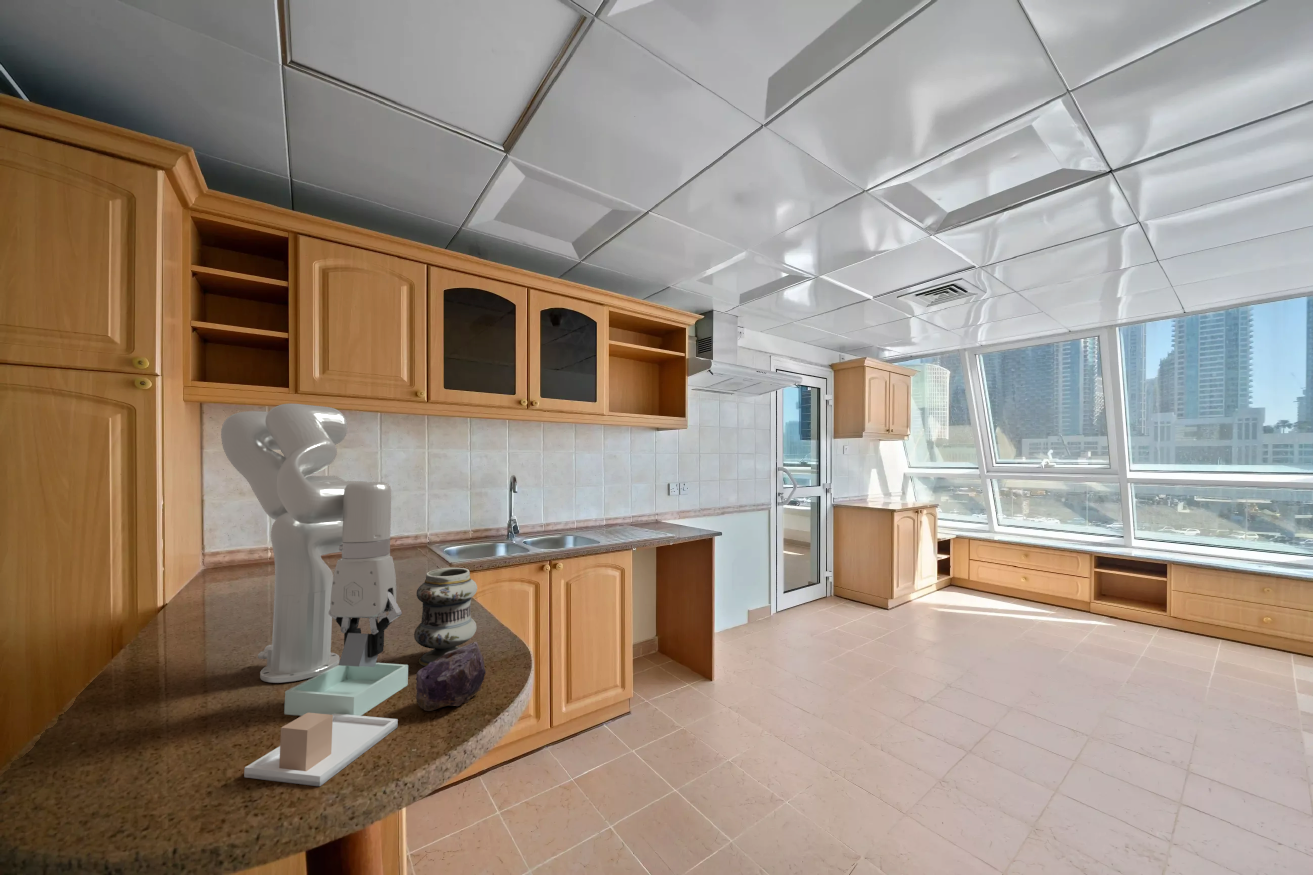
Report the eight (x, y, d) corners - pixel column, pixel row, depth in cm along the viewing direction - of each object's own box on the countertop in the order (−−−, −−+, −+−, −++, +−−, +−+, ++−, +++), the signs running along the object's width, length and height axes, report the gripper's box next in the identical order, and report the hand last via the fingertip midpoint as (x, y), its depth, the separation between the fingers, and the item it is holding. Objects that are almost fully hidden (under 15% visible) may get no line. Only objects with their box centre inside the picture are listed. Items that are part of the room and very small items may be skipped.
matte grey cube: (338, 665, 83) (348, 632, 85) (354, 665, 86) (363, 634, 89) (358, 666, 82) (368, 633, 85) (374, 666, 86) (383, 635, 88)
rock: (411, 712, 81) (445, 729, 75) (404, 663, 81) (437, 676, 75) (472, 676, 91) (506, 689, 85) (466, 632, 90) (500, 642, 84)
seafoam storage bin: (284, 713, 78) (285, 691, 78) (346, 680, 91) (347, 660, 91) (353, 720, 76) (354, 696, 76) (407, 684, 89) (408, 664, 89)
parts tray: (244, 777, 62) (244, 767, 62) (333, 721, 76) (333, 713, 76) (319, 786, 60) (320, 776, 60) (397, 727, 74) (397, 719, 74)
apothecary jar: (447, 673, 93) (449, 579, 95) (399, 665, 97) (402, 575, 98) (487, 651, 105) (489, 567, 106) (443, 644, 109) (445, 564, 110)
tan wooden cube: (279, 768, 63) (281, 727, 63) (306, 751, 67) (307, 712, 67) (305, 771, 62) (307, 730, 63) (331, 753, 66) (332, 714, 67)
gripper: (308, 553, 85) (304, 660, 84) (393, 554, 82) (390, 664, 81) (342, 546, 92) (339, 644, 91) (421, 547, 90) (419, 648, 88)
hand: (363, 653), depth 86 cm, fingers closed on matte grey cube, 4 cm apart
